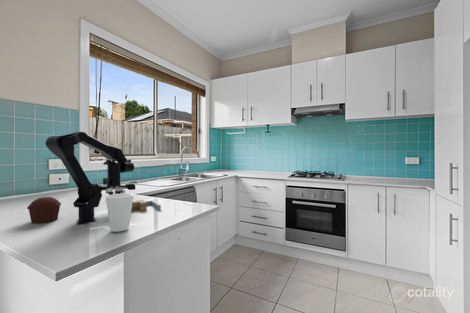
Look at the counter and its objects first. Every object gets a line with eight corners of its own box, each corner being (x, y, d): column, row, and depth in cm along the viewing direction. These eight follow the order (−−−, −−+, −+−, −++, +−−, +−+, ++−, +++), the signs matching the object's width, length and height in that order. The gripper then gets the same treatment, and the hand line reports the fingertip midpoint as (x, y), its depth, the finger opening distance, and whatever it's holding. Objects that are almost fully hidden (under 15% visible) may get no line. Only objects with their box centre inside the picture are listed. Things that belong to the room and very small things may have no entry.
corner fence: (160, 210, 115) (160, 205, 115) (138, 213, 109) (138, 207, 109) (152, 205, 128) (152, 200, 128) (132, 207, 122) (132, 202, 122)
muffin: (65, 219, 99) (66, 197, 99) (33, 226, 89) (34, 201, 89) (53, 215, 105) (54, 194, 105) (22, 221, 95) (22, 198, 96)
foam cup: (100, 230, 84) (100, 196, 84) (122, 223, 93) (122, 192, 93) (116, 234, 80) (116, 198, 80) (138, 227, 88) (138, 194, 88)
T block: (146, 211, 114) (146, 202, 115) (127, 213, 109) (127, 204, 109) (142, 207, 122) (142, 199, 122) (124, 210, 117) (124, 201, 117)
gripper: (131, 171, 122) (131, 200, 122) (90, 173, 111) (90, 204, 111) (135, 173, 113) (135, 203, 113) (91, 175, 102) (91, 208, 102)
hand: (114, 205), depth 110 cm, fingers closed
